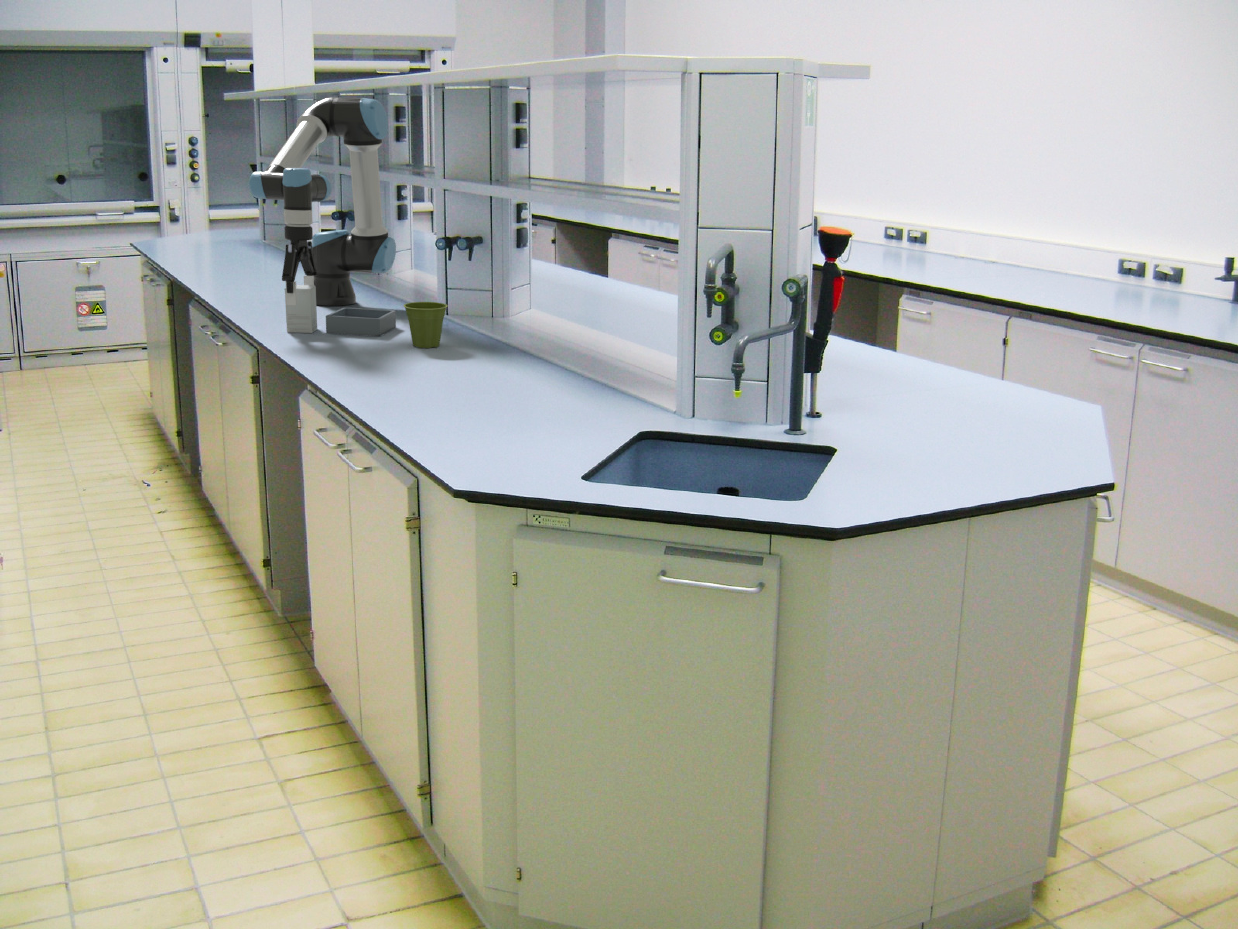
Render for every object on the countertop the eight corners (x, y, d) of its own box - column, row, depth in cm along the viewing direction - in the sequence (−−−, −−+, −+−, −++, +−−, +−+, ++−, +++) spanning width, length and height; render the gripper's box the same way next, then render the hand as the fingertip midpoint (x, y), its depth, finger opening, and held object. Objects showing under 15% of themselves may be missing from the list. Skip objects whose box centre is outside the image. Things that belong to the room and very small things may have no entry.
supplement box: (318, 328, 338) (316, 285, 334) (312, 333, 331) (310, 288, 327) (292, 328, 338) (290, 284, 334) (285, 332, 330) (284, 287, 327)
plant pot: (400, 342, 323) (399, 301, 320) (442, 341, 327) (442, 301, 324) (408, 350, 313) (407, 308, 310) (452, 349, 317) (452, 308, 314)
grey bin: (344, 324, 347) (343, 307, 345) (395, 327, 345) (395, 310, 344) (326, 333, 332) (325, 315, 330) (379, 336, 330) (379, 319, 329)
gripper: (301, 221, 338) (303, 295, 344) (267, 227, 314) (270, 306, 320) (327, 222, 337) (328, 296, 343) (294, 229, 313) (297, 308, 319)
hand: (300, 301), depth 331 cm, fingers open, 13 cm apart
